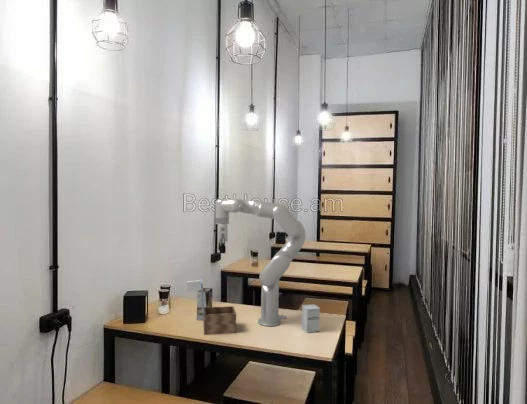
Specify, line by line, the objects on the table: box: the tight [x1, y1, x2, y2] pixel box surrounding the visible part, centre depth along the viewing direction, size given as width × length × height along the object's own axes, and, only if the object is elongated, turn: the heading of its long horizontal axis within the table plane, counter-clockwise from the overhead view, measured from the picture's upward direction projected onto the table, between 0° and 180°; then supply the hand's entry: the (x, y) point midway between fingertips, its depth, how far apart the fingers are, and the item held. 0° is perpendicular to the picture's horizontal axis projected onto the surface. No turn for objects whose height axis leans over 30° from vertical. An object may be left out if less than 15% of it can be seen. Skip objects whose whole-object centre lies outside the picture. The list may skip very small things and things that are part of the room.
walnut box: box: [203, 305, 237, 336], centre depth 191 cm, size 16×12×10 cm
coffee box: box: [196, 287, 213, 321], centre depth 208 cm, size 9×6×16 cm
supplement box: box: [301, 303, 321, 334], centre depth 192 cm, size 7×7×13 cm
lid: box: [186, 277, 204, 315], centre depth 188 cm, size 16×12×8 cm
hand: (221, 251), depth 205 cm, fingers open, 9 cm apart
